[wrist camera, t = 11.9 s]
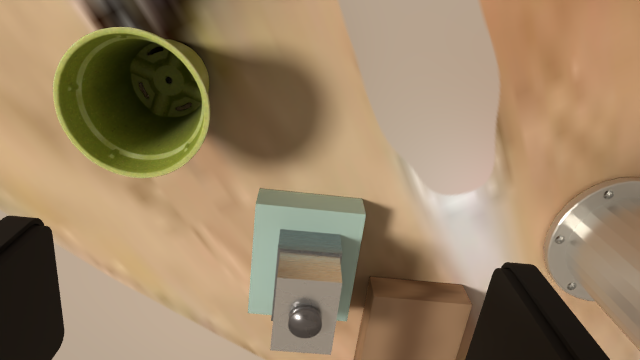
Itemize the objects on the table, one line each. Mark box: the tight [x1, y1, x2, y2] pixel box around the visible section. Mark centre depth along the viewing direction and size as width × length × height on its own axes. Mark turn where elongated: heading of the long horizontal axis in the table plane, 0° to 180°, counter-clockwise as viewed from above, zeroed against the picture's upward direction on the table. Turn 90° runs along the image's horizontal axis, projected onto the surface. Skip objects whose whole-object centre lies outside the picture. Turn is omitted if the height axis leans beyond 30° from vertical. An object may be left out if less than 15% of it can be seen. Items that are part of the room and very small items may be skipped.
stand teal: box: [248, 189, 366, 321], centre depth 41 cm, size 9×11×3 cm
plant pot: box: [53, 27, 210, 178], centre depth 32 cm, size 9×9×9 cm
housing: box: [270, 229, 342, 355], centre depth 36 cm, size 5×7×7 cm
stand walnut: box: [354, 277, 472, 360], centre depth 45 cm, size 9×11×3 cm
